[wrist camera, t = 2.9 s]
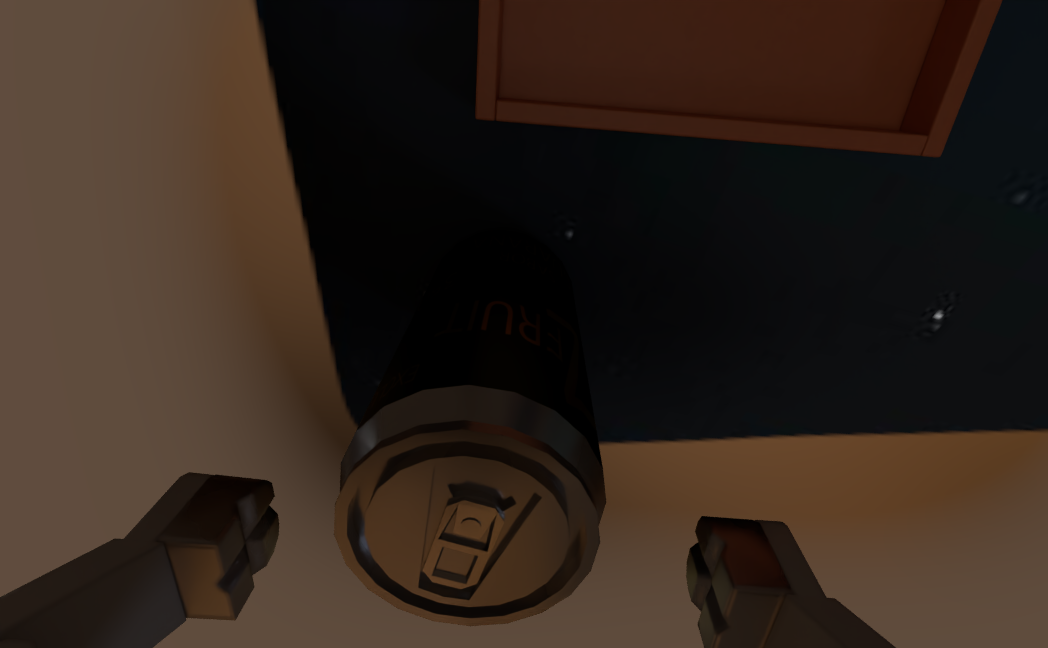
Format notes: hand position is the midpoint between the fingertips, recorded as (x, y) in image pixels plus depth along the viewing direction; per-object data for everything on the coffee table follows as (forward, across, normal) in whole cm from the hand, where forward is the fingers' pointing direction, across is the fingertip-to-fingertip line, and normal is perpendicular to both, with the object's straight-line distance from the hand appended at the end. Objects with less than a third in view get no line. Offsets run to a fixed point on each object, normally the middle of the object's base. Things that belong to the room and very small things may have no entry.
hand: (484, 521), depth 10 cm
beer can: (+12, 0, 0) cm, 12 cm away
